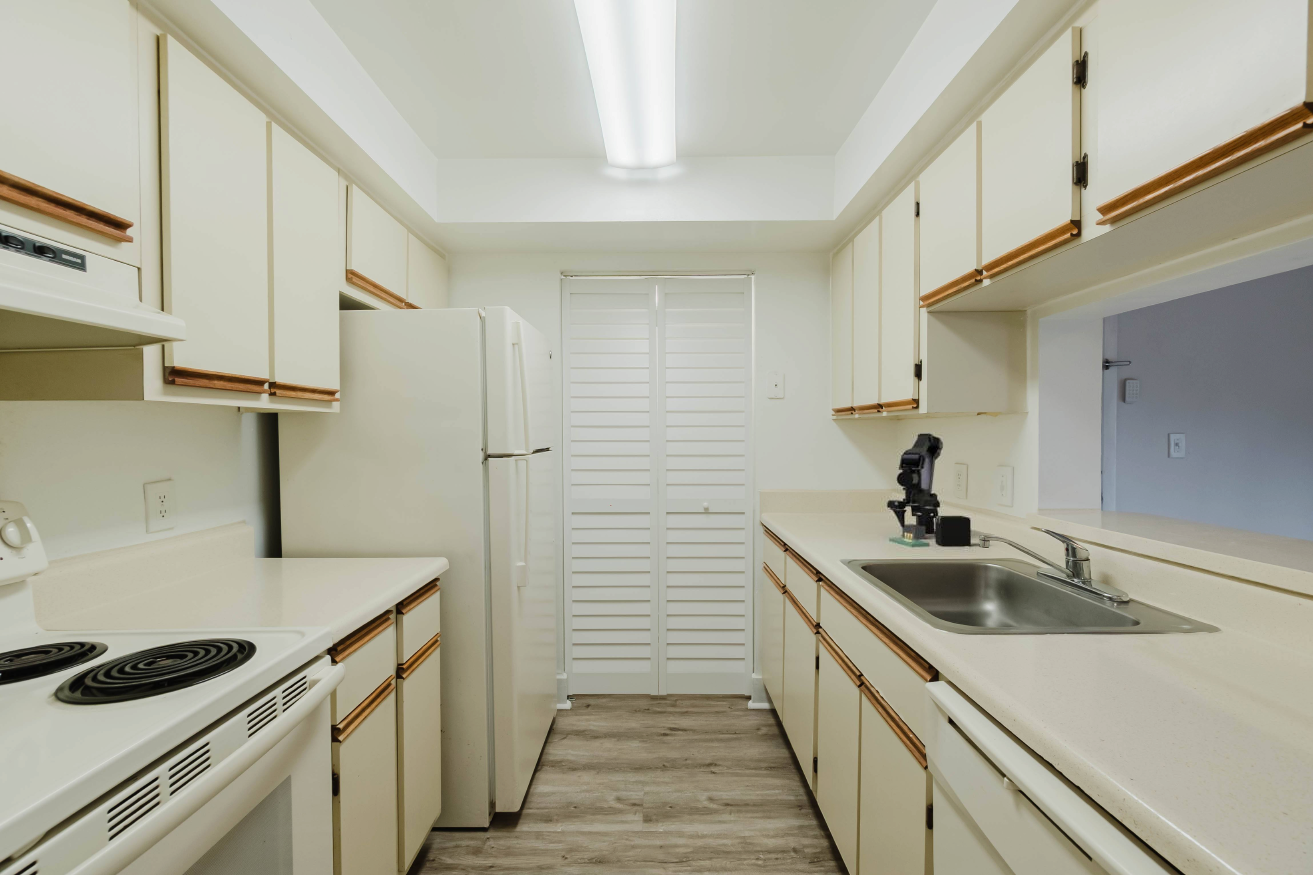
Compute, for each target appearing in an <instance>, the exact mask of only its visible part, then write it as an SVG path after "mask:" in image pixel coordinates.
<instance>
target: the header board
mask: <svg viewBox="0 0 1313 875" xmlns="http://www.w3.org/2000/svg"><path fill="white" fill-rule="evenodd" d="M910 535H911V538H910ZM888 540H889V542H892V543H896V544H899V545H904V546H908V547H910V548H915V547H916V548H918V547H919V548H920V547H930V542H927V541H923V540H920V539H919V540H915V539H913V534H910V533H908V537H907V533H905V537H903V536H901V537H889V538H888Z"/></svg>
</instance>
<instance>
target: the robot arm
mask: <svg viewBox="0 0 1313 875" xmlns="http://www.w3.org/2000/svg"><path fill="white" fill-rule="evenodd" d="M943 448H944V443H943V441H942V439H941V438H940V437H937V436H935V435H934V434H933V433H930V432H928V433H927V432H926V433H918V434H917V438H916V440H915V442H914V444H913V445H912V447H911V448H908V449H905V451H904V452H903V453H902V454H901V455H900V456H901V457H900V461H899V466H898V470H899V471H900V472H899V473H898V474H897V476H896V482H897V484H898V485H899V486H901V487H902V491H904V498H902V500H900V499H899V500H898V499H888V501H887V502H886V507H887V509H890V510H891V511H892V512H893V513H894V514H895V517H896V518H897V519H896V520H897V521H898V522H899V524H900V527H901V529H902V528H904V526H905V524H906V523H905V522H906V520H905V519H906V518H905V517H906V512H907V509H906V508H908V507H910V512H911V517H915V525H919V526H924V527H925V535H926V534H935V517H936V516H939V510H938V509H939V508H941V501H939V499H938V494H937V493H935V492H932V491H933V483H934V482H933V481H934V474H935V464H936V460H938V458H939V457H940V456H941V454H942V451H943Z"/></svg>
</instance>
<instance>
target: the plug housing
mask: <svg viewBox="0 0 1313 875" xmlns="http://www.w3.org/2000/svg"><path fill="white" fill-rule="evenodd" d="M901 529H902V530H901V531H902V532H901V533H902V535H901V537H905V533H907V537H908V533H910V534H913V539H915V540H919V541H920V540H926V539H927V538H926V534H925V527H924V526H919V525H916V524H914V523H909V524H907V523H905V526H904V528H902V527H901ZM910 538H911V535H910Z"/></svg>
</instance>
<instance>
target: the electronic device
mask: <svg viewBox="0 0 1313 875" xmlns="http://www.w3.org/2000/svg"><path fill="white" fill-rule="evenodd" d="M971 522H972V521H971V518H970V517H968V516H964V515H938V516H936V517H935V518H934V531H935V533H934V534H935V538H934V540H935V544H936V545H938V546H941V547H949V548H950V547H951V548H953V547H957V548H961V547H965V546H969V547H971V545H972V543H971V542H972V540H971V538H972V537H971V536H972V535H971V533H972V531H971V529H972V527H971V525H972V524H971Z"/></svg>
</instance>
